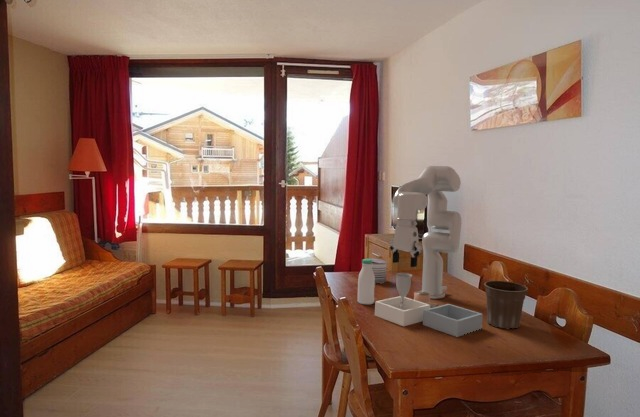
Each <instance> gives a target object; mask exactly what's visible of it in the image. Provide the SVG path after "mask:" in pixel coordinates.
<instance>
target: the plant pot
mask: <svg viewBox="0 0 640 417" xmlns="http://www.w3.org/2000/svg"><path fill="white" fill-rule="evenodd" d="M483 285H484V287H485V294H486V319H487V320H486V322H487V324H488V325H491V326H492V327H494V326H495V327H494V328H497V327H500V328H499V329H501V328H512V329H514V328H517V327H519V328H520V325H521V318H522V311H523V307H524V301H525V299H526V295H527V292H528V290H529V288H528V287H527V286H526V285H523V284H521V283H516V282H512V281H508V280H506V281H504V280H489V281H485V282H484V284H483ZM517 329H518V328H517Z"/></svg>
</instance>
